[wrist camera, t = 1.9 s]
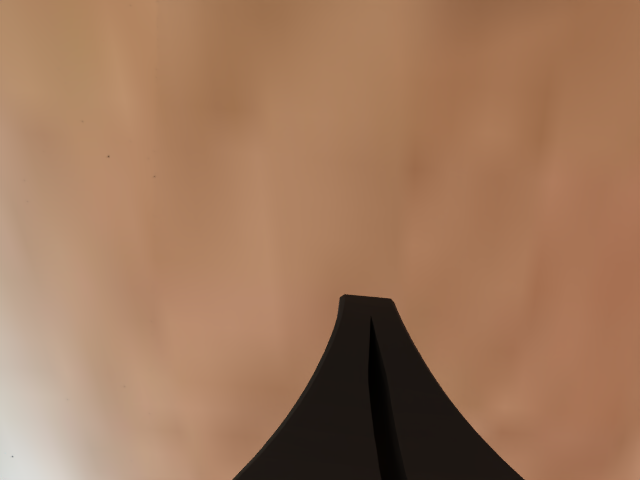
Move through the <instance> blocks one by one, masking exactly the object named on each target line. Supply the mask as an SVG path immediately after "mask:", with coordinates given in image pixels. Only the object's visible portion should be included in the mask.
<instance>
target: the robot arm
mask: <svg viewBox="0 0 640 480" xmlns="http://www.w3.org/2000/svg"><path fill="white" fill-rule="evenodd" d="M233 480H524V479H523V478H522V477H521V476H520V475H519V474H518V473H517V472H516V471H514V470H513V469H512V468H511V467H510V466H509V465H508V464H507V463H506V462H505V461H504V460H503V459H502V458H501V457H500V456H499V455H498V454H497V453H496V452H495V451H494V450H493V449H492V448H491V447H490V446H489V445H488V444H487V443H486V442H485V441H484V440H483V439H482V438H481V436H480V435H479V434H478V433H477V432H476V431H475V430H474V429H473V428H472V426H471V425H470V424H469V423H468V422H467V420H466V419H465V418H464V417H463V416H462V414H461V413H460V412H459V411H458V409H457V408H456V407H455V406H454V404H453V403H452V402H451V400H450V399H449V398H448V396H447V395H446V394H445V392H444V391H443V389H442V388H441V387H440V385H439V384H438V382H437V381H436V379H435V378H434V376H433V375H432V373H431V372H430V370H429V368H428V367H427V365H426V364H425V362H424V360H423V359H422V357H421V355H420V353H419V352H418V350H417V348H416V346H415V345H414V343H413V341H412V339H411V337H410V336H409V334H408V332H407V330H406V328H405V326H404V324H403V322H402V320H401V317H400V315H399V313H398V311H397V308H396V306H395V304H394V302H393V301H392V299H389V298H378V297H368V296H357V295H346V294H345V295H343V296H341V297H340V301H339V308H338V315H337V320H336V323H335V326H334V329H333V332H332V335H331V337H330V340H329V342H328V345H327V347H326V349H325V352H324V354H323V356H322V358H321V360H320V362H319V364H318V366H317V368H316V370H315V372H314V374H313V376H312V377H311V379H310V381H309V383H308V385H307V386H306V388H305V390H304V391H303V393H302V394H301V396H300V398H299V399H298V401H297V402H296V404H295V405H294V407H293V408H292V410H291V411H290V412H289V414H288V415H287V417H286V418H285V420H284V421H283V422H282V424H281V425H280V426H279V428H278V429H277V430H276V431H275V433H274V434H273V435H272V436H271V437H270V439H269V440H268V441H267V442H266V444H265V445H264V446H263V447H262V449H261V450H260V451H259V452H258V453H257V454H256V455H255V457H254V458H253V459H252V460H251V461H250V462H249V463H248V464H247V465H246V466H245V467H244V468H243V469H242V470H241V471H240V472H239V473H238V474H237V475H236V476H235V477H234V479H233Z"/></svg>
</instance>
